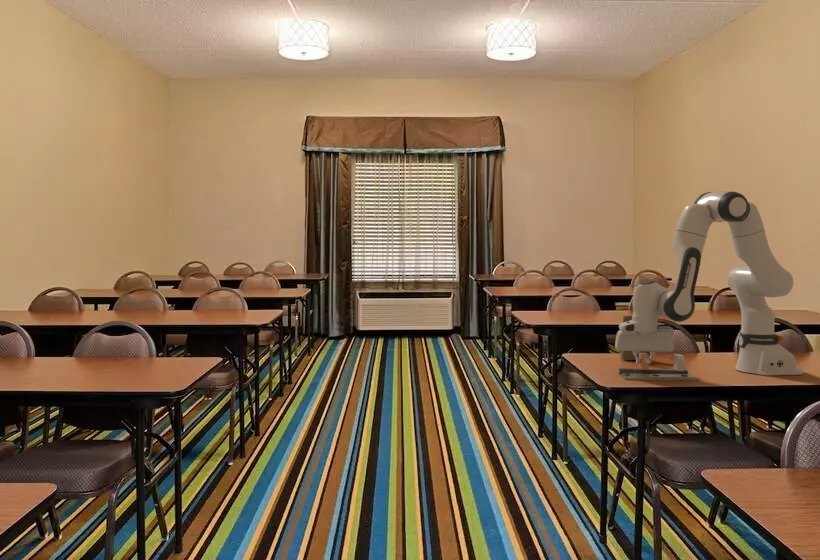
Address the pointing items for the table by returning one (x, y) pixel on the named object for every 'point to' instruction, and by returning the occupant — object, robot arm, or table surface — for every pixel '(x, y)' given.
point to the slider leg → (644, 361)
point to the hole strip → (659, 376)
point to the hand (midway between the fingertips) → (643, 363)
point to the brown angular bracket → (629, 354)
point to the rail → (677, 369)
